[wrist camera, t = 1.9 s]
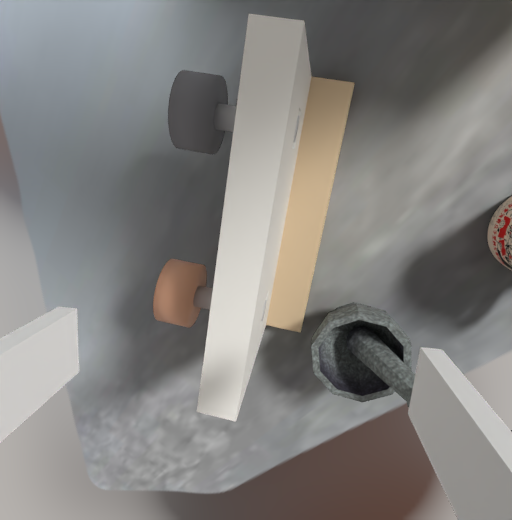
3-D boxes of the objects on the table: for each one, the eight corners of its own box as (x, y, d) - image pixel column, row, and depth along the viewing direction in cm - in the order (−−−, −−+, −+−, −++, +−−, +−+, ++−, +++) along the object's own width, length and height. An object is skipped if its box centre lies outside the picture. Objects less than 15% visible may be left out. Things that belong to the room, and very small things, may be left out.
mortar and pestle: (303, 351, 45) (297, 419, 34) (322, 280, 42) (323, 328, 31) (397, 376, 44) (423, 454, 33) (423, 304, 41) (462, 363, 30)
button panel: (240, 311, 45) (191, 410, 28) (278, 75, 37) (241, 12, 20) (301, 324, 44) (289, 435, 27) (353, 86, 36) (381, 30, 19)
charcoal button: (190, 148, 34) (165, 148, 29) (197, 77, 33) (172, 62, 27) (292, 166, 33) (286, 169, 28) (305, 93, 32) (302, 81, 26)
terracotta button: (175, 305, 39) (150, 331, 34) (180, 251, 38) (155, 269, 32) (263, 325, 38) (253, 355, 33) (273, 270, 36) (264, 292, 31)
